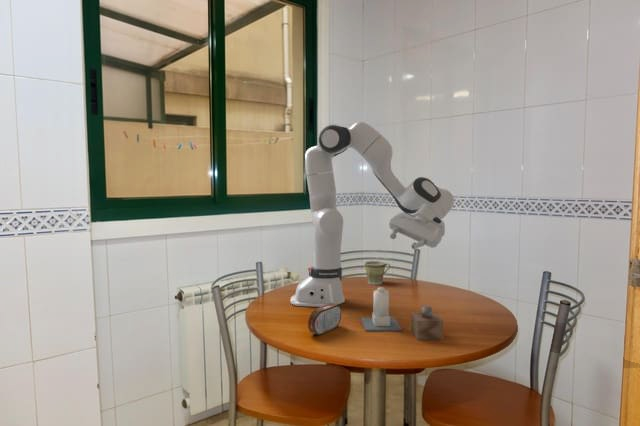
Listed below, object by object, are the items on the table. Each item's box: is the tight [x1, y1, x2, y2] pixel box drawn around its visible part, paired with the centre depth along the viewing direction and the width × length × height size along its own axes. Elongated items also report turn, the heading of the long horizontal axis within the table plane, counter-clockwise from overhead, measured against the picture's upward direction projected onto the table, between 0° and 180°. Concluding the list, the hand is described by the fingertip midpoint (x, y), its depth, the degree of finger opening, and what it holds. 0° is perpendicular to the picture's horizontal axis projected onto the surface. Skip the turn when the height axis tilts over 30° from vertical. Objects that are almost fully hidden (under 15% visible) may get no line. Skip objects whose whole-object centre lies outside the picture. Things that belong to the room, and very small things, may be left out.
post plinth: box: [410, 305, 444, 341], centre depth 130 cm, size 8×8×9 cm
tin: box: [307, 303, 342, 336], centre depth 134 cm, size 15×3×8 cm, turn 141°
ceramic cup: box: [364, 260, 391, 286], centre depth 199 cm, size 13×10×10 cm
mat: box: [360, 316, 403, 332], centre depth 140 cm, size 12×12×1 cm
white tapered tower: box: [371, 286, 391, 326], centre depth 139 cm, size 5×5×12 cm
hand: (402, 242), depth 147 cm, fingers open, 8 cm apart
